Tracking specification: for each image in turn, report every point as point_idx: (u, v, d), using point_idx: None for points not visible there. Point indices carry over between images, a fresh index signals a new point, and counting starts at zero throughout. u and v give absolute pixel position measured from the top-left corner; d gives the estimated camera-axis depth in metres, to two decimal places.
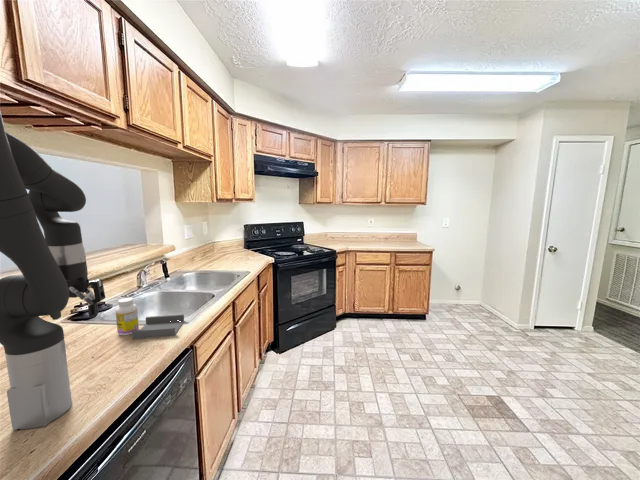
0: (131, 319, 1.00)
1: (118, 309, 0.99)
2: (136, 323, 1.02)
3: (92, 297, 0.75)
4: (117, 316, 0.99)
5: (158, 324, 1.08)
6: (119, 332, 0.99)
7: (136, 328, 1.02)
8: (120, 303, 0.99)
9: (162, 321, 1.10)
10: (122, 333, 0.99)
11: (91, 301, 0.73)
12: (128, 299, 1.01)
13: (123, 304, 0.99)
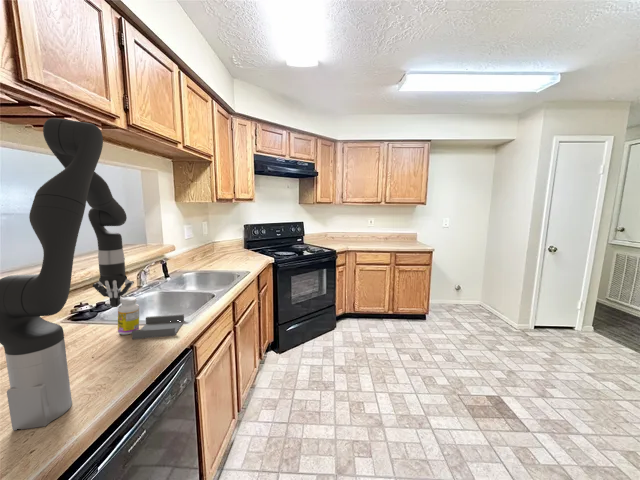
0: (132, 319, 1.00)
1: (121, 308, 0.99)
2: (137, 323, 1.02)
3: None
4: (119, 315, 0.99)
5: (158, 324, 1.08)
6: (119, 331, 0.99)
7: (136, 328, 1.02)
8: (123, 302, 0.99)
9: (162, 321, 1.10)
10: (122, 332, 0.99)
11: (116, 295, 0.99)
12: (131, 299, 1.01)
13: (126, 303, 0.99)
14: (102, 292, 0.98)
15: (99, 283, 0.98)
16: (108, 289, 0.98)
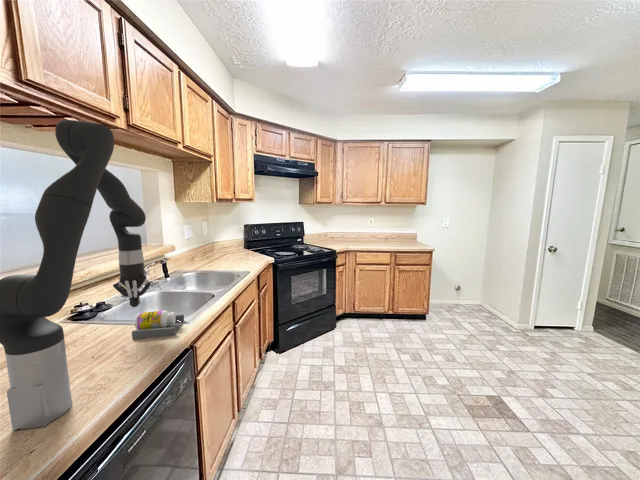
0: (152, 327, 1.02)
1: (164, 316, 1.04)
2: None
3: None
4: (157, 316, 1.03)
5: None
6: (138, 319, 1.01)
7: None
8: (171, 317, 1.04)
9: None
10: (137, 322, 1.00)
11: (135, 295, 1.00)
12: (174, 320, 1.06)
13: (169, 320, 1.04)
14: (122, 292, 0.99)
15: (119, 283, 0.99)
16: (128, 289, 0.99)
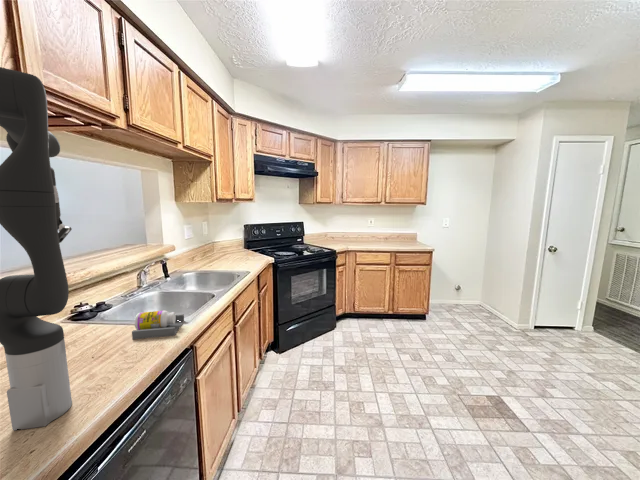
0: (152, 327, 1.02)
1: (164, 316, 1.04)
2: None
3: None
4: (157, 316, 1.03)
5: None
6: (138, 319, 1.01)
7: None
8: (171, 317, 1.04)
9: None
10: (137, 322, 1.00)
11: None
12: (174, 320, 1.06)
13: (169, 321, 1.04)
14: None
15: None
16: None
